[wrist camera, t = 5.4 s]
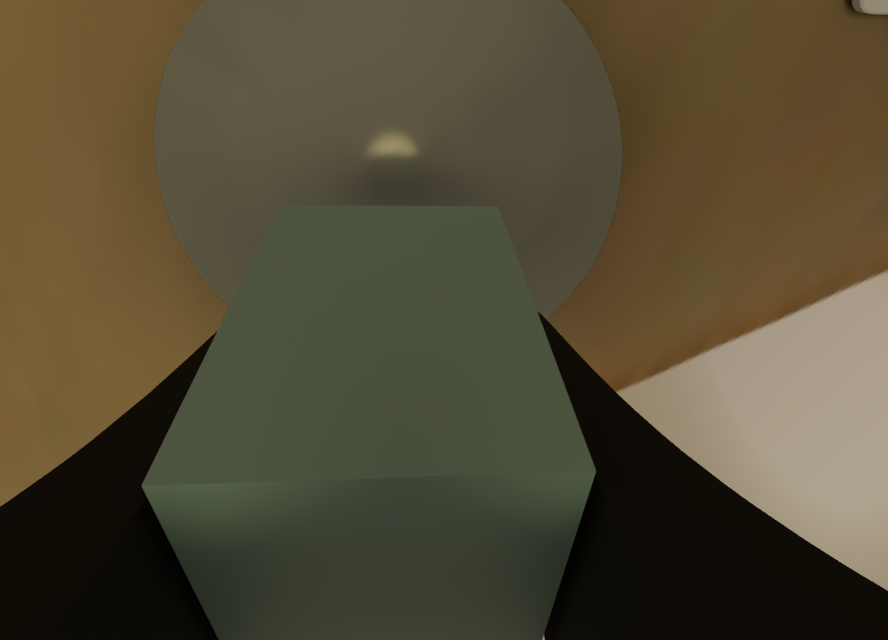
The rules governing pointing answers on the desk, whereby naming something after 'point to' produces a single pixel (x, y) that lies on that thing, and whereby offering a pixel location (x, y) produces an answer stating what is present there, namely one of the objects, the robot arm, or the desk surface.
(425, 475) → the pale green block
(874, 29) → the desk surface
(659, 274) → the desk surface
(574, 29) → the slate plate
